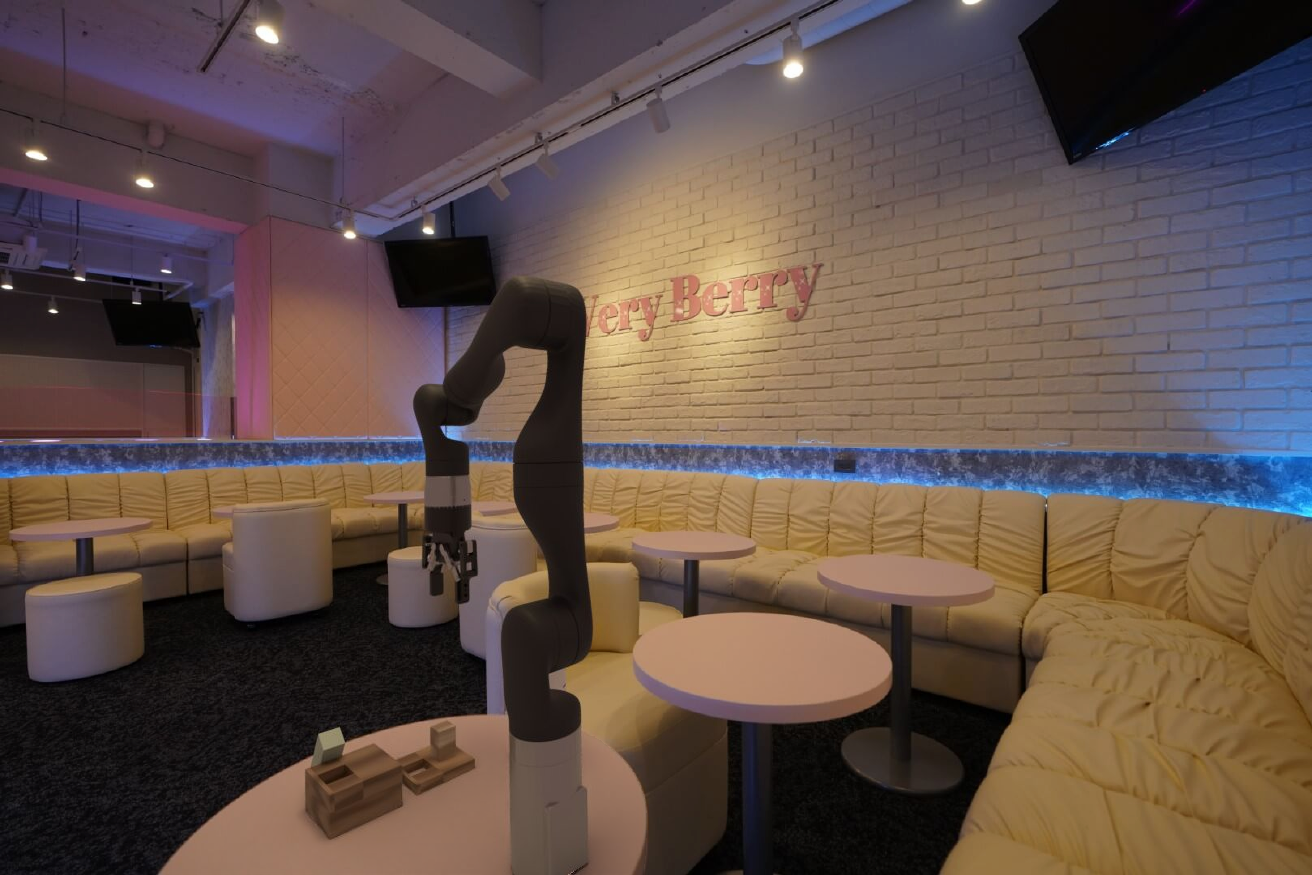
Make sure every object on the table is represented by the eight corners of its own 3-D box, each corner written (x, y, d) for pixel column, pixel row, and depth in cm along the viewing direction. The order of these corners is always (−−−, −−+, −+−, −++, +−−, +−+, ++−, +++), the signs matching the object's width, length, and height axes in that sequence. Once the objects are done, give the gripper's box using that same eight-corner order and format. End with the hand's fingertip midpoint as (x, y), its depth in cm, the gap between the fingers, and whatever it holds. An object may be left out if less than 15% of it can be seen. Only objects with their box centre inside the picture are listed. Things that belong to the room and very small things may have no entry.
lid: (475, 767, 97) (474, 728, 97) (416, 794, 90) (416, 752, 90) (445, 747, 104) (444, 711, 104) (388, 771, 96) (388, 732, 97)
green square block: (345, 742, 89) (334, 784, 93) (339, 727, 91) (329, 768, 95) (323, 750, 87) (313, 792, 91) (318, 733, 89) (308, 776, 93)
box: (402, 805, 87) (402, 764, 87) (330, 839, 80) (329, 795, 80) (374, 780, 94) (374, 743, 94) (305, 809, 86) (305, 769, 87)
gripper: (490, 502, 96) (492, 601, 96) (447, 499, 106) (448, 588, 105) (448, 506, 91) (449, 611, 90) (406, 502, 100) (407, 597, 100)
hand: (449, 599), depth 98 cm, fingers open, 8 cm apart
